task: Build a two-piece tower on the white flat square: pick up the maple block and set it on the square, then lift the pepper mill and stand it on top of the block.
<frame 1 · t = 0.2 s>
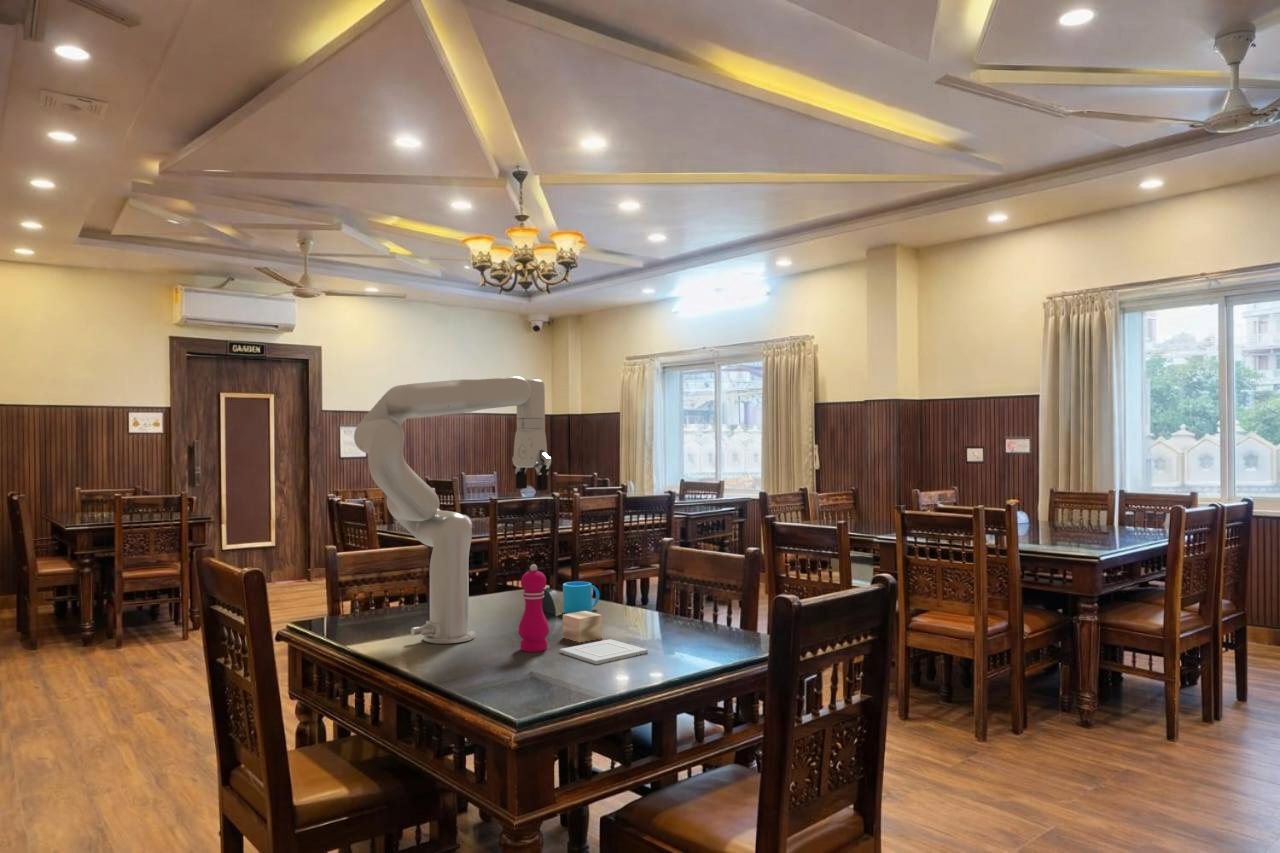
hand: (531, 489, 227), 36 cm above the table, tool pointing down, fingers open, 9 cm apart
mug: (582, 612, 244), on the table
pepper mill: (533, 649, 200), on the table
white flat square: (603, 652, 196), on the table
maple block: (582, 638, 211), on the table
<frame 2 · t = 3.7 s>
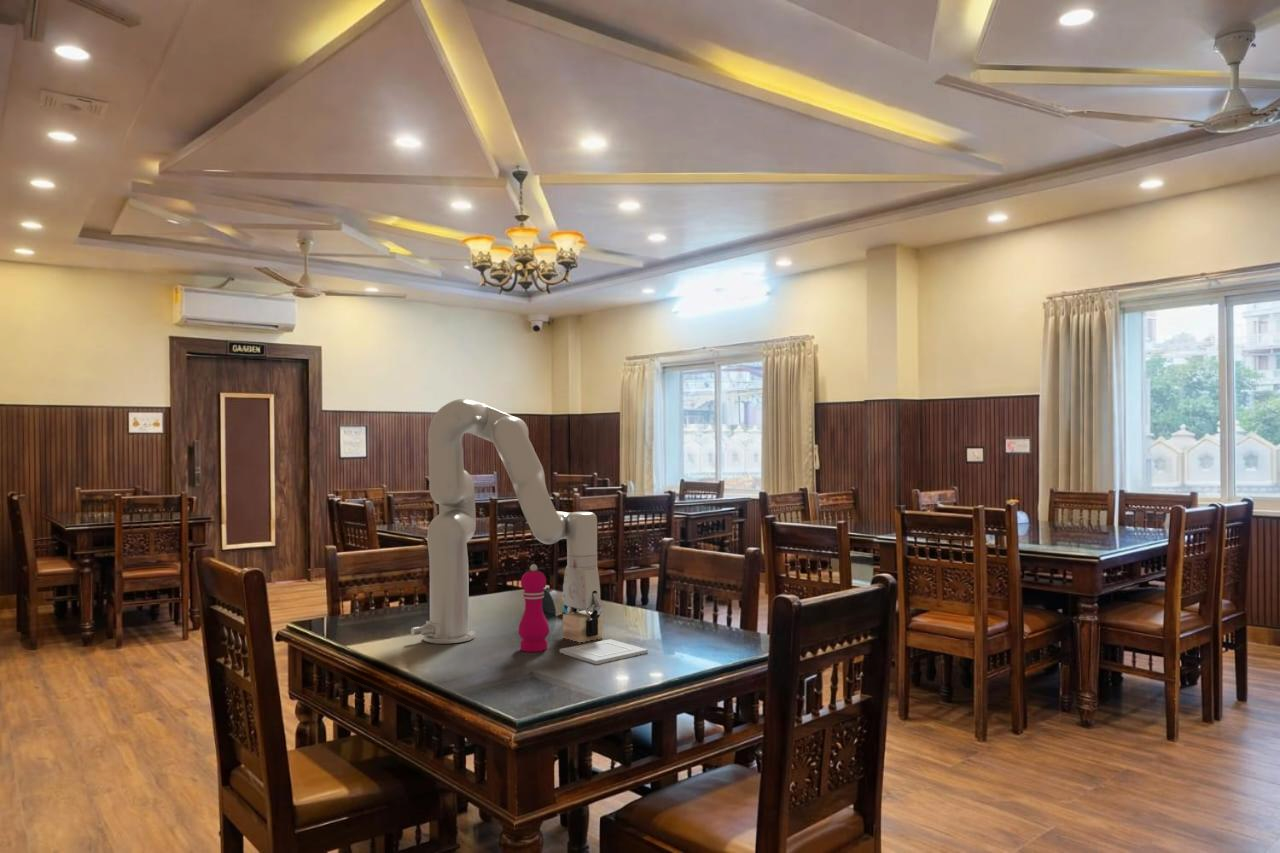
hand: (582, 632, 211), 1 cm above the table, tool pointing down, fingers closed on maple block, 7 cm apart
maple block: (582, 638, 211), on the table, touching gripper
everything else where it was.
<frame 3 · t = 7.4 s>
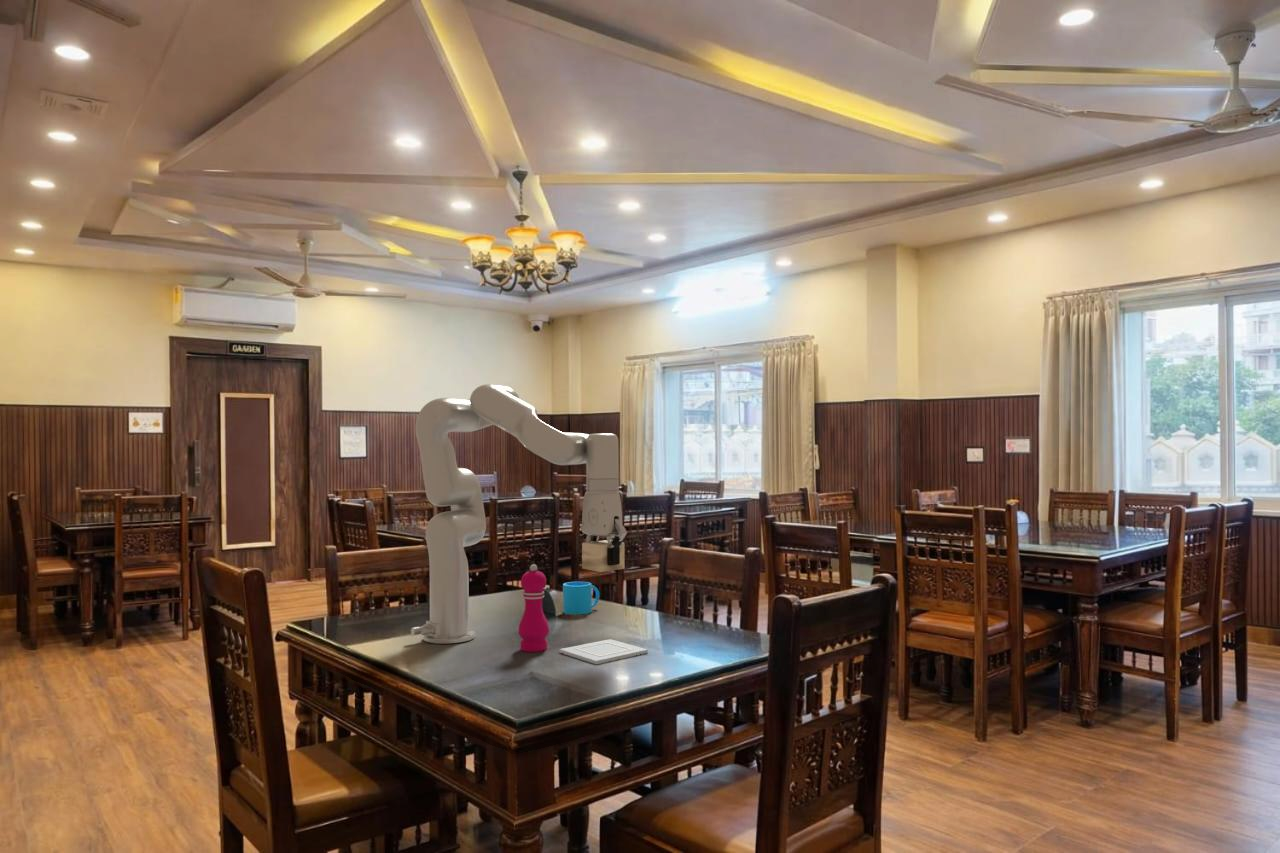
hand: (603, 562, 196), 21 cm above the table, tool pointing down, fingers closed on maple block, 7 cm apart
maple block: (603, 568, 196), point 19 cm above the table, touching gripper
everything else where it was.
when the fingers open (3 cm above the table, at t = 11.0 s): maple block drops 1 cm, resting on white flat square.
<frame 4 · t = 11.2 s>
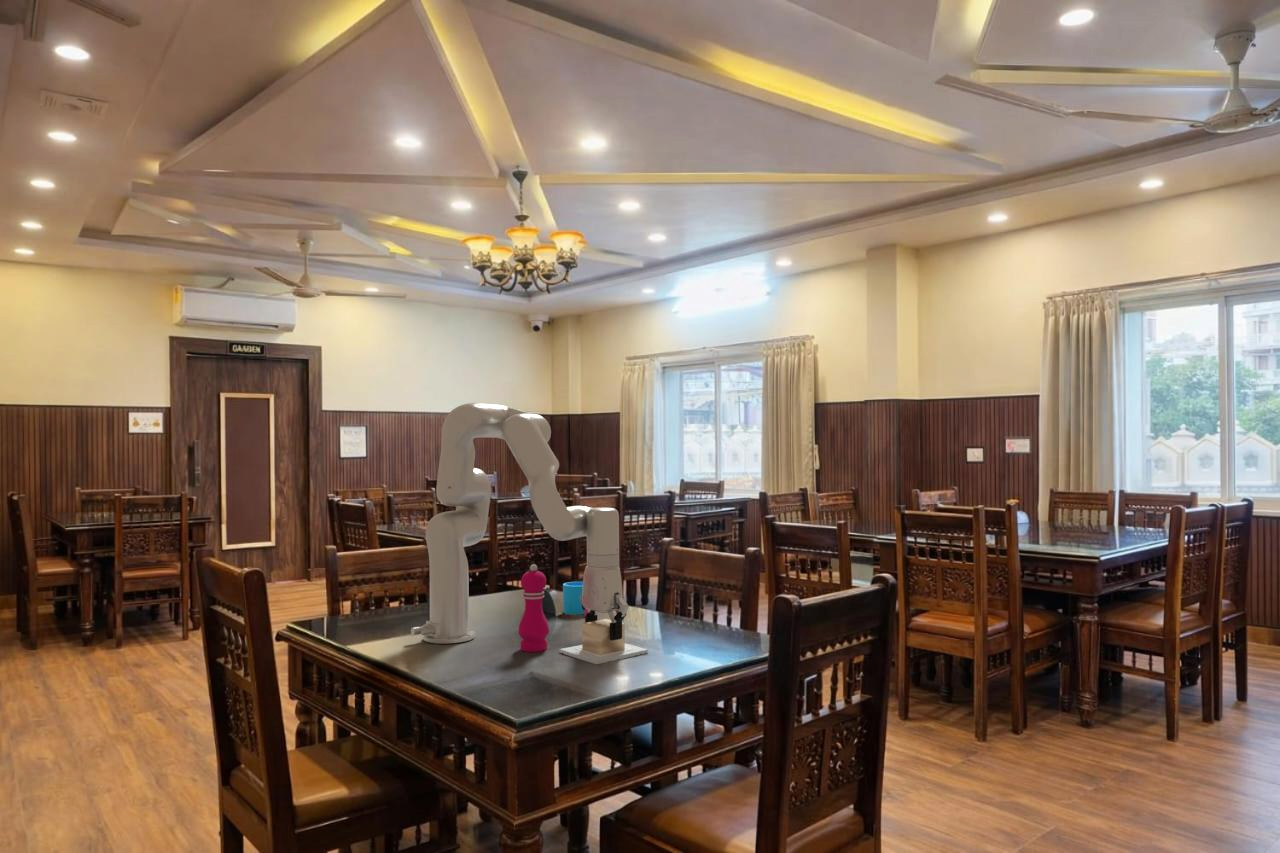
hand: (603, 635, 196), 4 cm above the table, tool pointing down, fingers open, 8 cm apart
maple block: (603, 649, 196), point 1 cm above the table, touching white flat square
everything else where it was.
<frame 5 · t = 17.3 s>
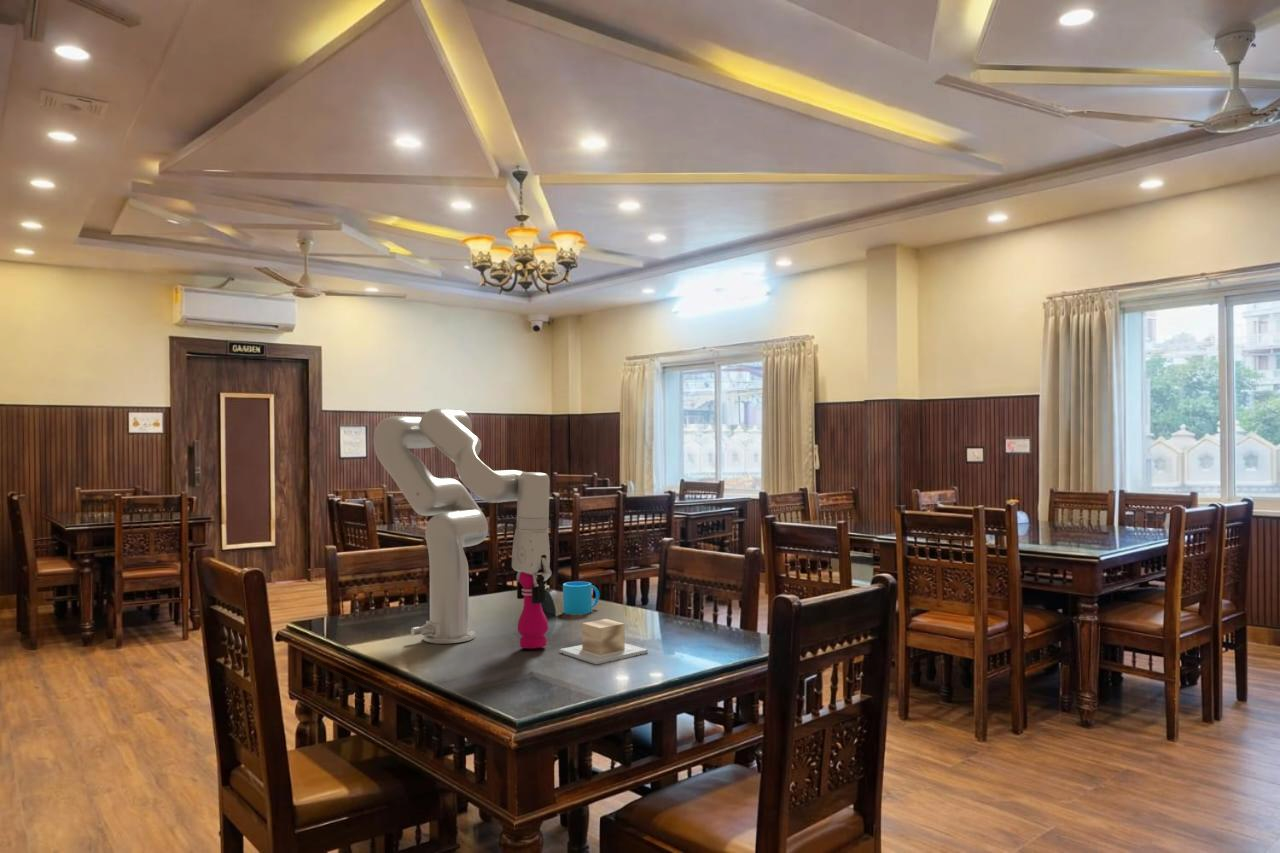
hand: (530, 599, 201), 12 cm above the table, tool pointing down, fingers closed on pepper mill, 5 cm apart
pepper mill: (533, 646, 200), point 1 cm above the table, touching gripper
everything else where it was.
when the fingers open (18 cm above the table, at t = 21.8 s): pepper mill stays where it is, resting on maple block.
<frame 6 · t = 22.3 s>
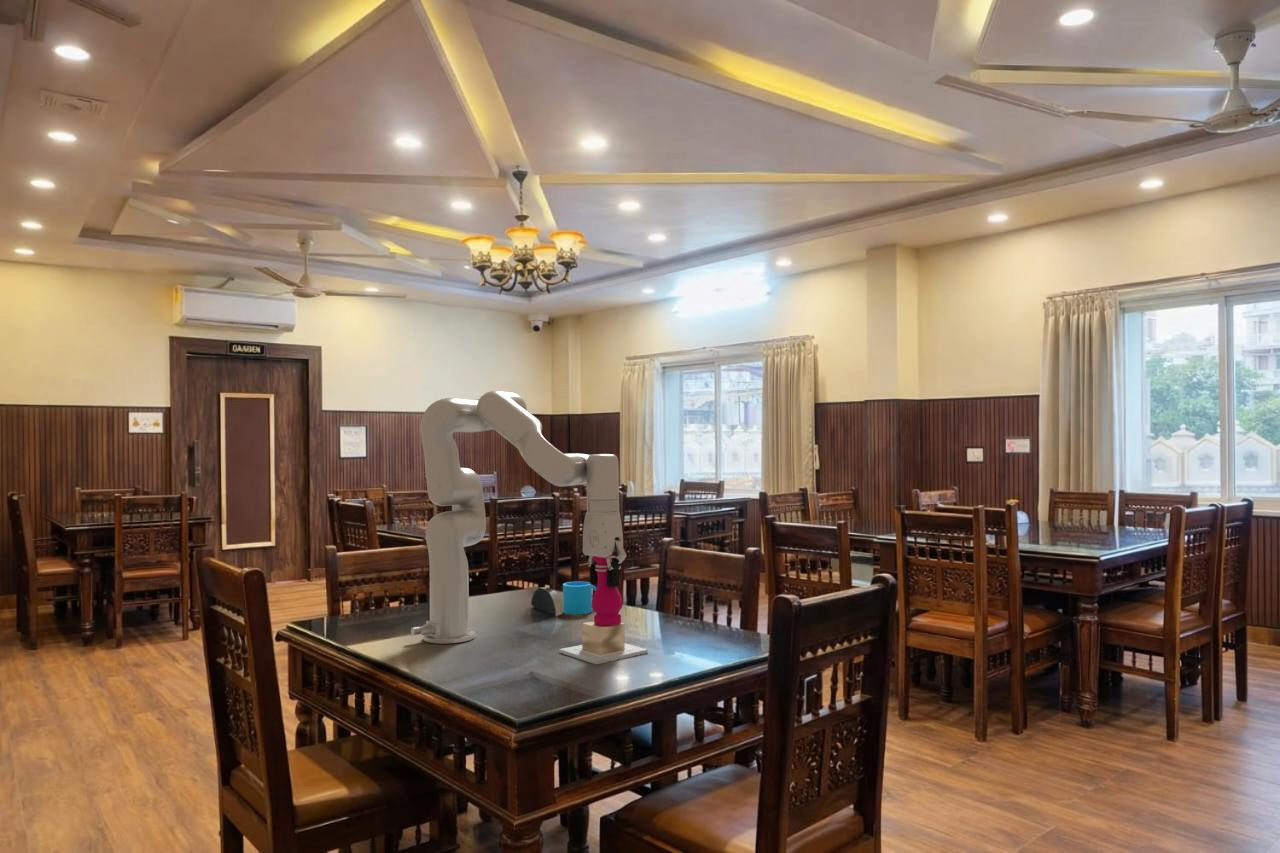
hand: (604, 584, 196), 16 cm above the table, tool pointing down, fingers open, 5 cm apart
pepper mill: (607, 624, 196), point 7 cm above the table, touching gripper, maple block
maple block: (603, 649, 196), point 1 cm above the table, touching white flat square, pepper mill
everything else where it was.
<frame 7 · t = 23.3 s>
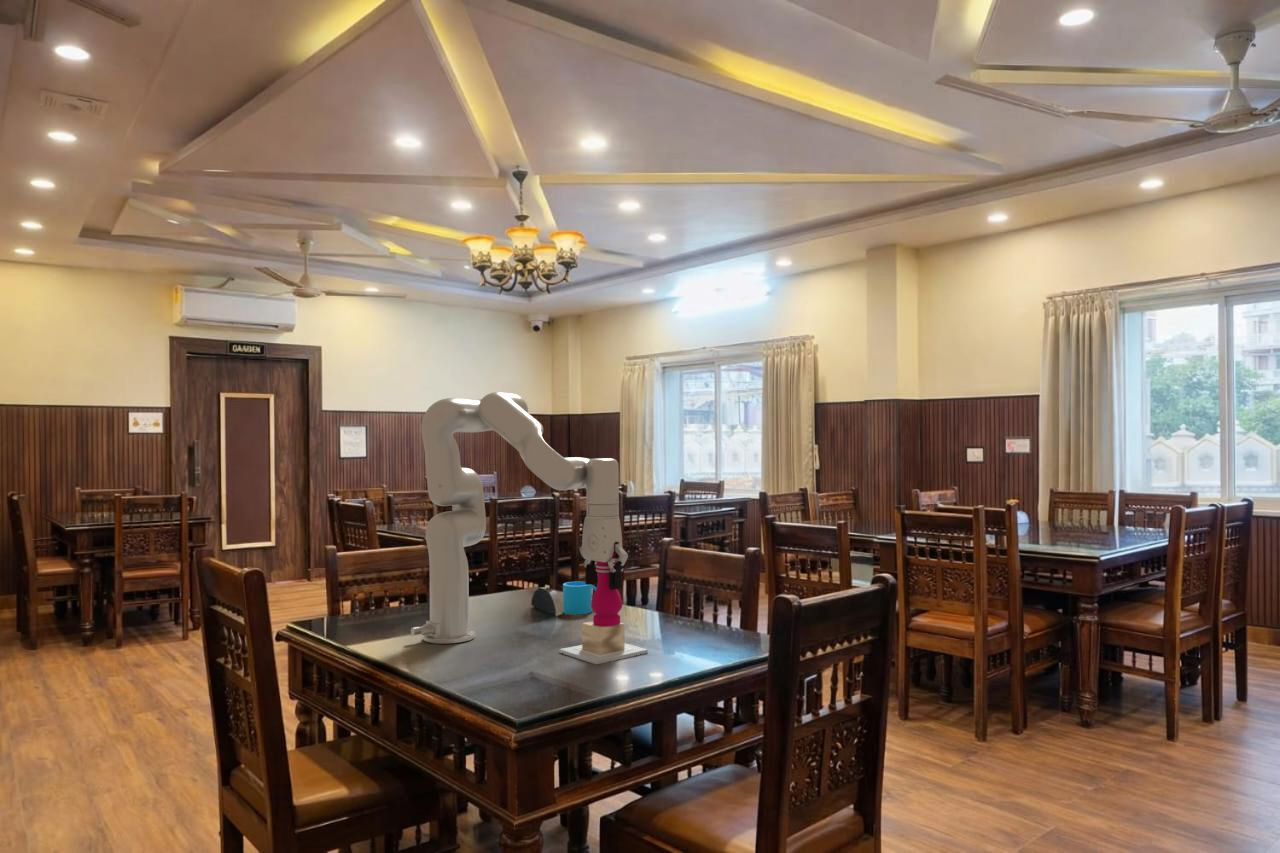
hand: (603, 586, 196), 15 cm above the table, tool pointing down, fingers open, 8 cm apart
pepper mill: (606, 624, 196), point 7 cm above the table, touching maple block
everything else where it was.
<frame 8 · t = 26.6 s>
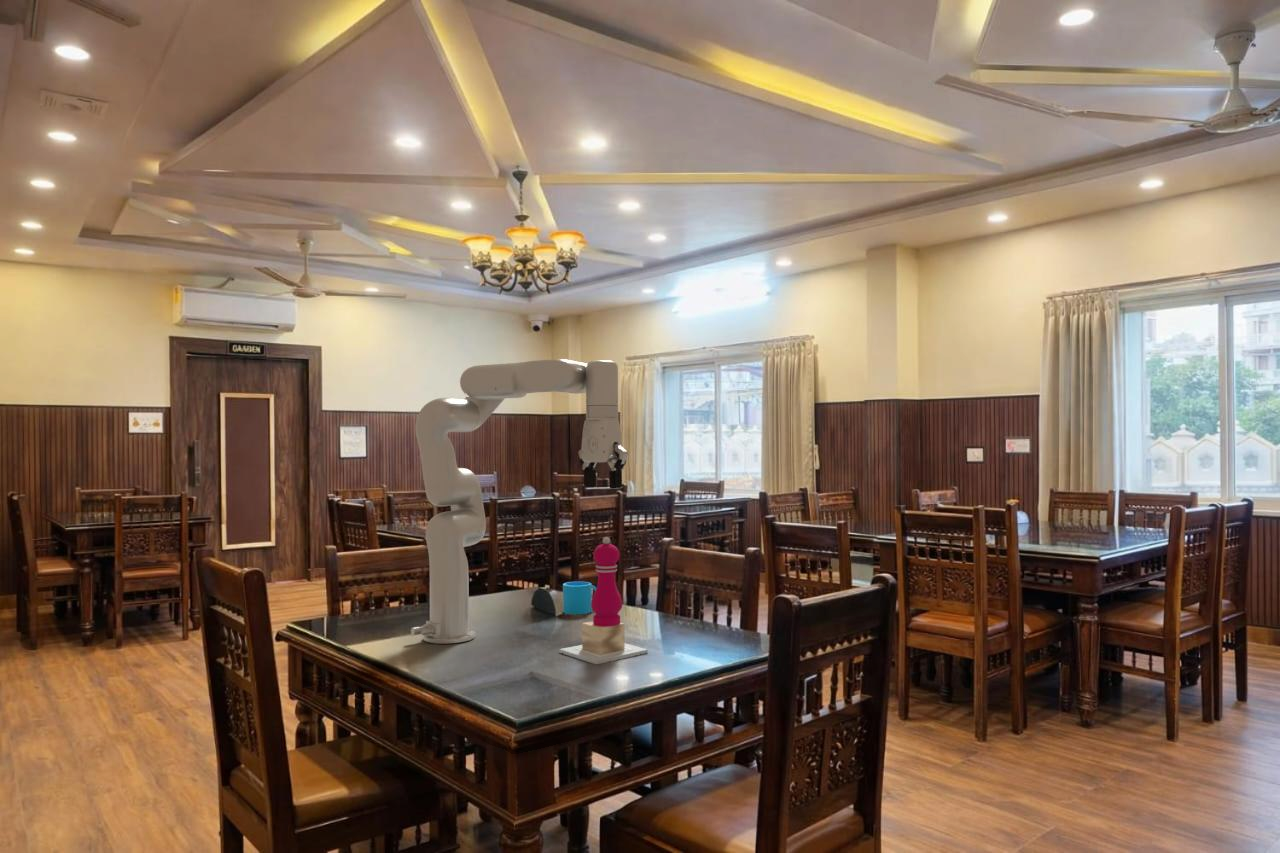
hand: (602, 487, 197), 38 cm above the table, tool pointing down, fingers open, 9 cm apart
nothing on the table moved.
at the end: maple block 0.1 cm off-centre on the white flat square, point 0.8 cm above the white flat square's base; pepper mill 0.9 cm off-centre on the white flat square, point 6.6 cm above the white flat square's base; pepper mill tilted 0° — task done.
